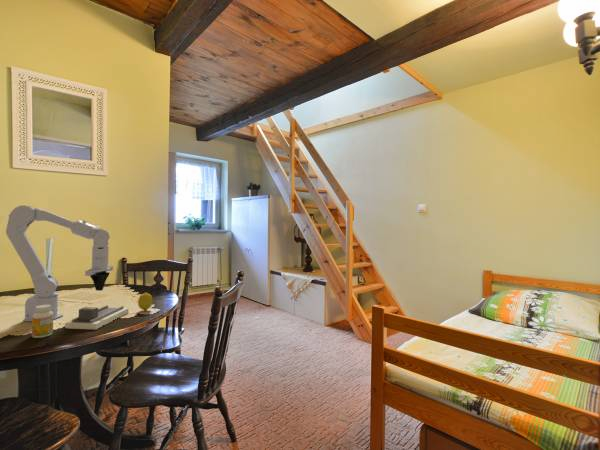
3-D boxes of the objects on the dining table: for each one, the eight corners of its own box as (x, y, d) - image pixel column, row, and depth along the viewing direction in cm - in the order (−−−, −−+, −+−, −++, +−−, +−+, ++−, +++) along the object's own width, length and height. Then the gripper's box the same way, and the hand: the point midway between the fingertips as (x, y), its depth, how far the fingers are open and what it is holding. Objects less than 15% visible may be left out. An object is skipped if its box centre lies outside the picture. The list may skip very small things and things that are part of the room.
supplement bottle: (30, 335, 102) (30, 306, 102) (50, 331, 106) (51, 303, 106) (33, 339, 98) (34, 309, 98) (54, 335, 102) (55, 306, 102)
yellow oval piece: (146, 313, 129) (146, 294, 129) (134, 311, 130) (135, 293, 130) (154, 309, 135) (155, 291, 135) (144, 308, 136) (144, 290, 136)
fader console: (65, 328, 109) (65, 319, 109) (102, 311, 129) (102, 304, 129) (95, 329, 109) (96, 321, 109) (128, 312, 129) (128, 305, 129)
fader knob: (78, 320, 111) (78, 309, 111) (84, 317, 114) (84, 306, 114) (92, 321, 111) (92, 309, 111) (97, 318, 114) (98, 307, 114)
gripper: (97, 260, 120) (96, 294, 120) (120, 256, 135) (119, 286, 135) (80, 259, 120) (79, 293, 121) (104, 255, 135) (103, 286, 135)
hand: (99, 290), depth 128 cm, fingers closed
